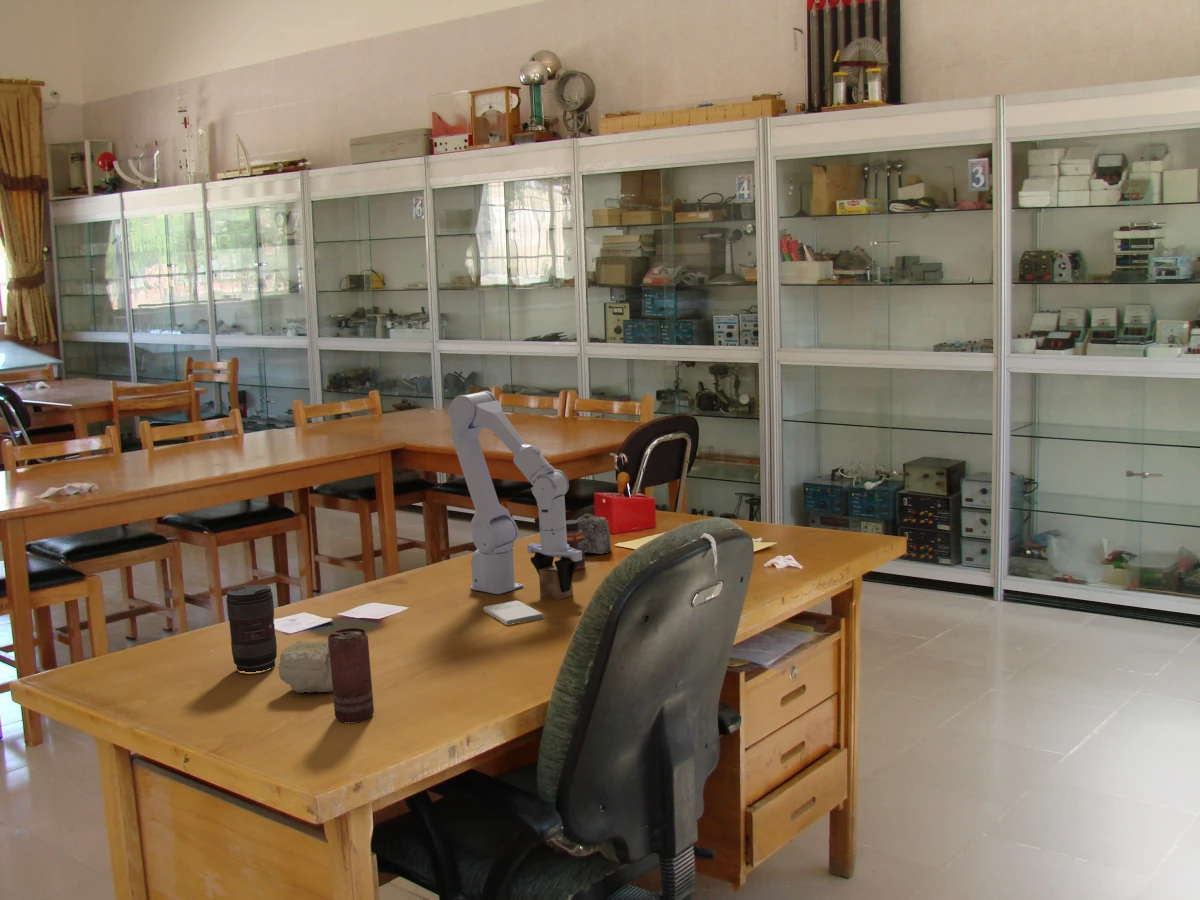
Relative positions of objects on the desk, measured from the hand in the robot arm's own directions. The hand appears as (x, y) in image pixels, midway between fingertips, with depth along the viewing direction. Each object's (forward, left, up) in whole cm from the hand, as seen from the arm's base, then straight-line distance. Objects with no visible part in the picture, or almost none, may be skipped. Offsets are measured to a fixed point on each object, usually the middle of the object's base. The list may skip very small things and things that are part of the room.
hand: (556, 589), depth 249 cm
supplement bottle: (-13, +19, -2) cm, 23 cm away
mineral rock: (-21, +32, -2) cm, 39 cm away
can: (+21, -69, -2) cm, 72 cm away
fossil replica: (+5, -65, -2) cm, 65 cm away
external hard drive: (+2, -15, -2) cm, 16 cm away
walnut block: (0, 0, -1) cm, 1 cm away
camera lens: (-14, -65, -2) cm, 67 cm away
